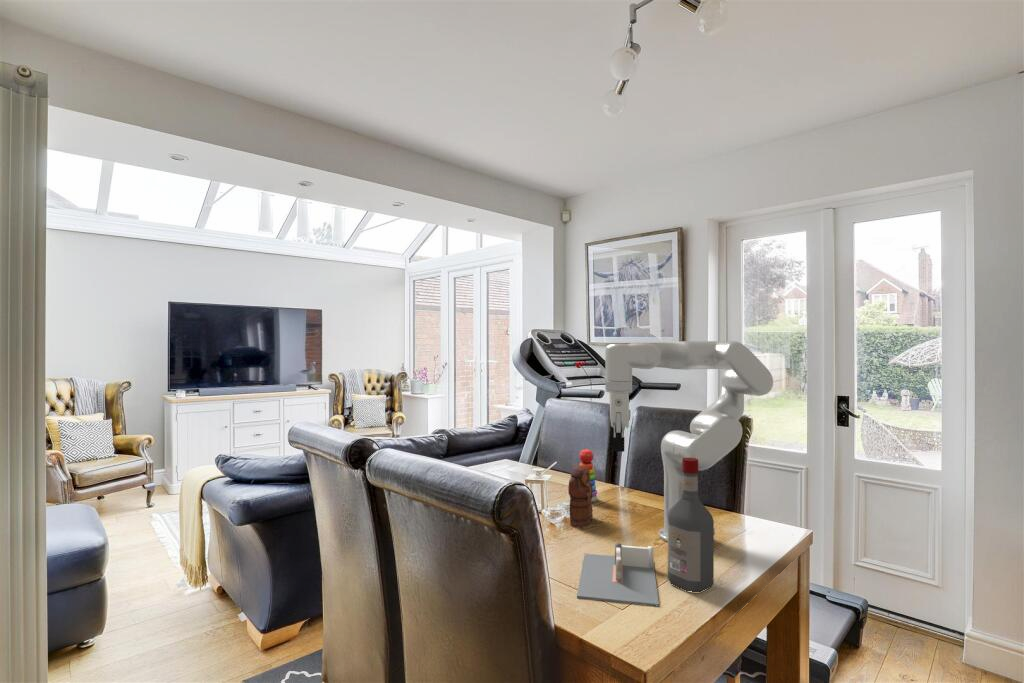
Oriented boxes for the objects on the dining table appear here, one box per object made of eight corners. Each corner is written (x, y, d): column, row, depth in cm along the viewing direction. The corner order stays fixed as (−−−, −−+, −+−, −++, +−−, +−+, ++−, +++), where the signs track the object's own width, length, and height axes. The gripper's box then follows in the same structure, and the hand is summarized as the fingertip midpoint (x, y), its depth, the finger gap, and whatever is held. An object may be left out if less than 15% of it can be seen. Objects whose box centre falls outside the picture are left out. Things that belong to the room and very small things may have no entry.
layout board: (652, 561, 137) (652, 539, 137) (658, 606, 114) (658, 580, 114) (584, 555, 141) (584, 534, 141) (576, 597, 118) (576, 572, 118)
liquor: (695, 596, 119) (695, 465, 119) (662, 581, 126) (662, 458, 126) (718, 585, 124) (718, 460, 124) (685, 571, 131) (685, 453, 131)
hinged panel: (615, 564, 133) (615, 546, 133) (620, 565, 133) (620, 546, 133) (615, 581, 124) (615, 561, 124) (621, 581, 124) (621, 561, 124)
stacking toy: (572, 497, 194) (572, 447, 194) (592, 496, 196) (592, 446, 196) (580, 504, 186) (580, 451, 186) (600, 502, 188) (601, 450, 188)
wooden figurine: (586, 528, 162) (586, 470, 162) (566, 525, 164) (566, 469, 164) (595, 516, 173) (595, 462, 173) (576, 514, 175) (576, 461, 175)
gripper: (632, 389, 140) (632, 457, 140) (631, 385, 155) (631, 446, 155) (604, 388, 142) (604, 456, 142) (606, 384, 156) (606, 445, 156)
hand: (618, 450), depth 148 cm, fingers closed
